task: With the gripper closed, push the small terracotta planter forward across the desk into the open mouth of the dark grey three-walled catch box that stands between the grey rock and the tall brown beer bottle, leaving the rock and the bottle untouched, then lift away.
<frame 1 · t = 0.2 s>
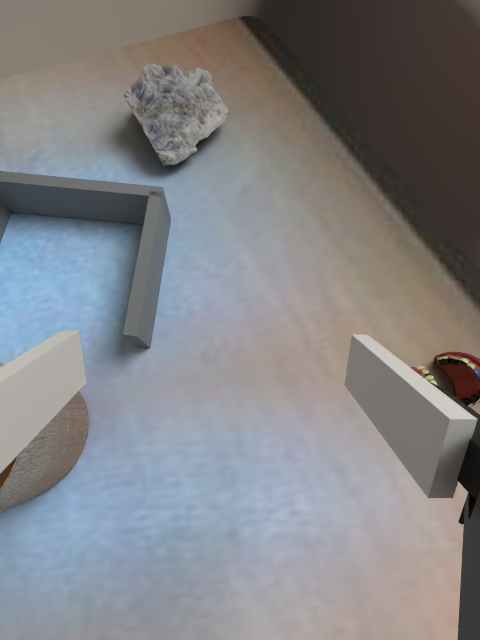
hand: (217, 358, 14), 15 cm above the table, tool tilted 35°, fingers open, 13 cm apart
rock: (178, 132, 39), on the table
dentures: (430, 386, 31), on the table
catch box: (73, 265, 32), on the table
planter: (31, 431, 27), on the table
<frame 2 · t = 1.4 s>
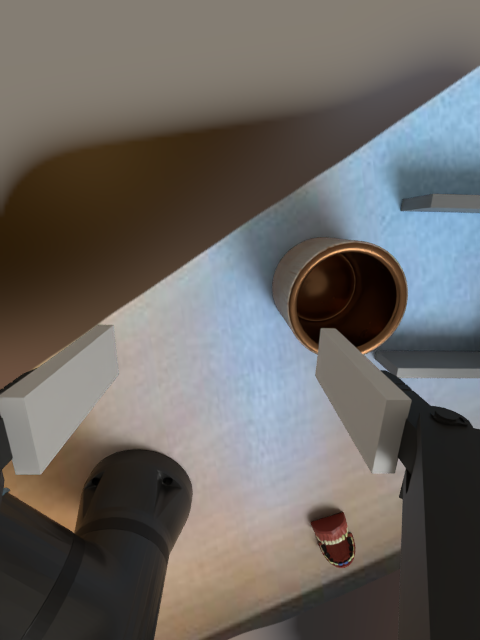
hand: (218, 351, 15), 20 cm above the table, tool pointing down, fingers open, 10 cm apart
dentures: (330, 526, 47), on the table
catch box: (455, 286, 35), on the table
planter: (316, 284, 35), on the table
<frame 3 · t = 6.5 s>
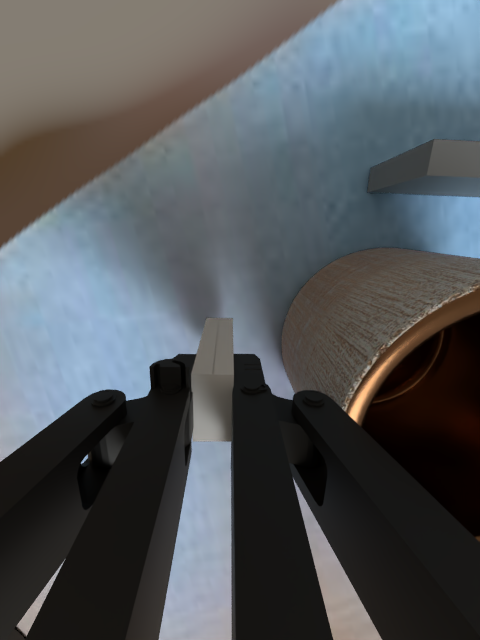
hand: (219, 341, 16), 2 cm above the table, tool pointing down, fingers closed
catch box: (474, 340, 18), on the table
planter: (363, 334, 18), on the table, touching hand
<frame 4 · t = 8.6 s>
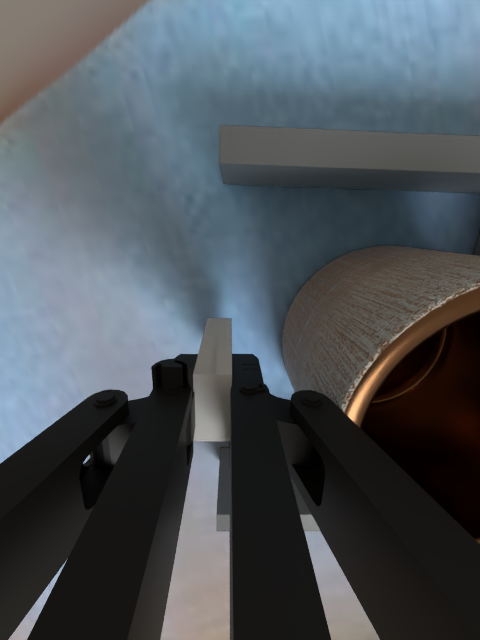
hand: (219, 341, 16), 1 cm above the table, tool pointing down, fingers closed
catch box: (357, 336, 18), on the table
planter: (365, 333, 18), on the table, touching catch box, hand
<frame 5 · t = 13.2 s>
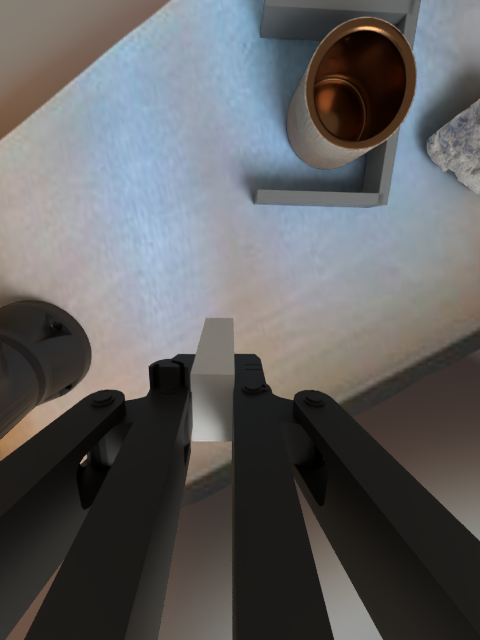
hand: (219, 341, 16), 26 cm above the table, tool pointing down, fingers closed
rock: (473, 145, 38), on the table
catch box: (323, 124, 36), on the table
planter: (327, 123, 37), on the table
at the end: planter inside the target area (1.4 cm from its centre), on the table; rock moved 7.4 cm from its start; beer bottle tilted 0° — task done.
